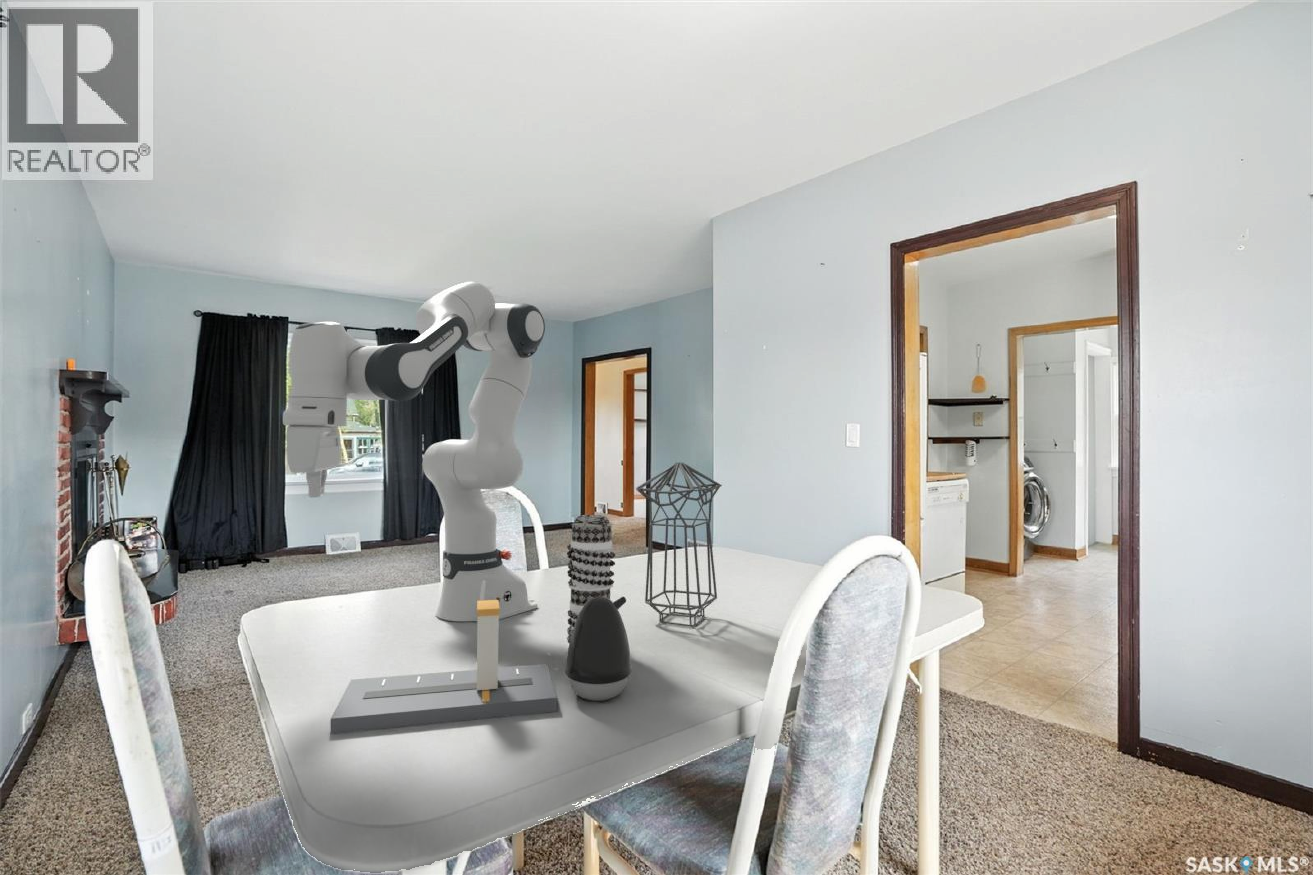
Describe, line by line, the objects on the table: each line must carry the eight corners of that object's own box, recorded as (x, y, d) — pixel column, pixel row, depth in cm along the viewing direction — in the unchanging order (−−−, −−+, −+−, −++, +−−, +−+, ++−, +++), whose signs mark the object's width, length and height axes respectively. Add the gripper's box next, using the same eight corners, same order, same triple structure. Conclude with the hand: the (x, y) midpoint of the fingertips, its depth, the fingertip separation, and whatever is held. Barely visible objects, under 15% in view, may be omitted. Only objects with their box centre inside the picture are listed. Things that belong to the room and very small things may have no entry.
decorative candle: (555, 646, 121) (557, 515, 121) (592, 636, 127) (595, 512, 127) (585, 659, 114) (588, 520, 114) (623, 647, 121) (625, 516, 121)
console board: (330, 733, 84) (330, 717, 85) (350, 692, 98) (351, 678, 98) (556, 711, 93) (556, 696, 93) (546, 676, 106) (547, 663, 106)
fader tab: (475, 690, 94) (477, 609, 94) (476, 677, 99) (477, 600, 99) (498, 688, 95) (499, 608, 95) (497, 676, 100) (498, 599, 100)
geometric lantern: (701, 635, 130) (699, 464, 130) (633, 625, 137) (631, 463, 137) (727, 615, 144) (725, 460, 144) (664, 607, 151) (662, 460, 151)
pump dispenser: (645, 694, 99) (646, 597, 99) (593, 714, 92) (594, 609, 92) (603, 676, 106) (605, 585, 106) (552, 693, 99) (553, 595, 99)
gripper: (312, 417, 118) (311, 491, 118) (279, 413, 98) (277, 502, 98) (350, 417, 119) (348, 491, 119) (324, 414, 100) (322, 502, 100)
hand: (316, 496), depth 108 cm, fingers closed
